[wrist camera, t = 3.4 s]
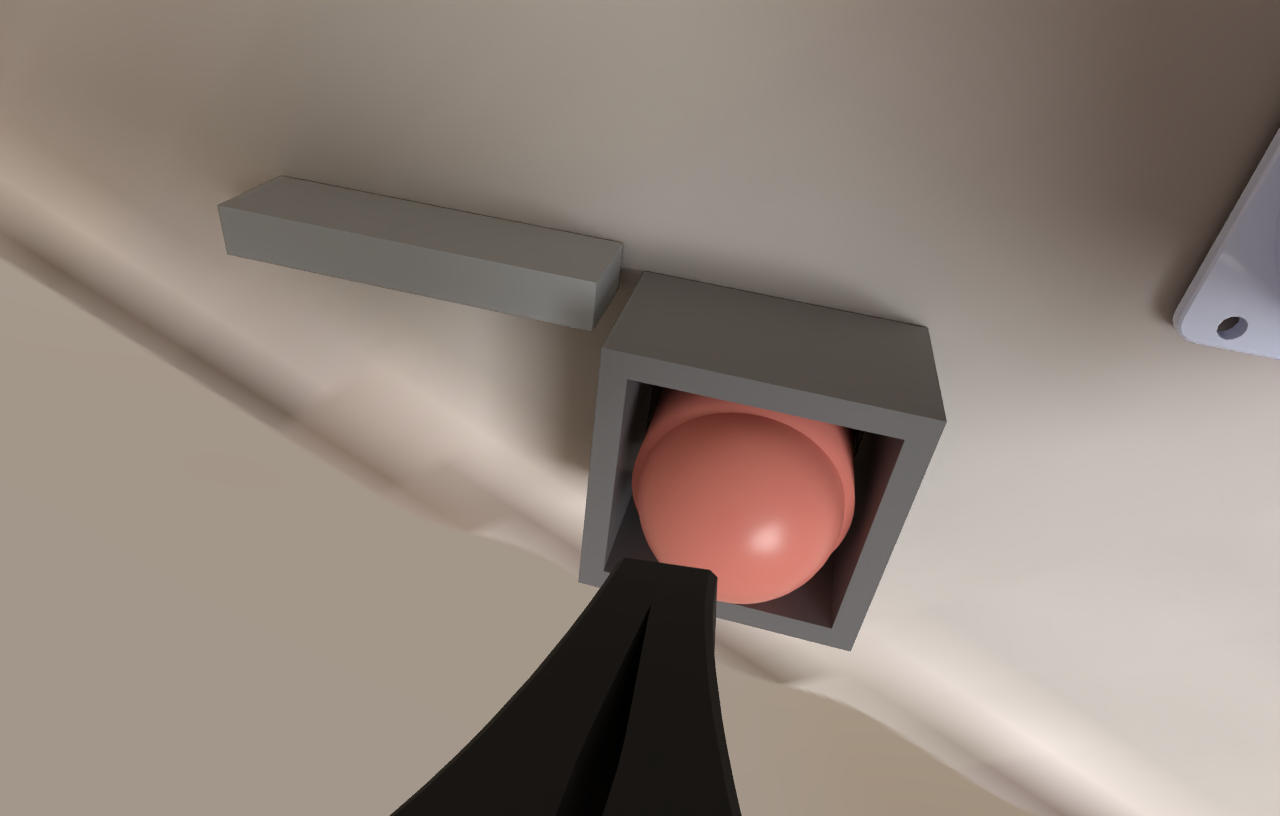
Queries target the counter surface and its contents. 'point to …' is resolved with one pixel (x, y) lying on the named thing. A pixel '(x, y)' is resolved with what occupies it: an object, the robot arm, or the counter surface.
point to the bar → (425, 250)
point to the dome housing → (778, 381)
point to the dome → (743, 493)
